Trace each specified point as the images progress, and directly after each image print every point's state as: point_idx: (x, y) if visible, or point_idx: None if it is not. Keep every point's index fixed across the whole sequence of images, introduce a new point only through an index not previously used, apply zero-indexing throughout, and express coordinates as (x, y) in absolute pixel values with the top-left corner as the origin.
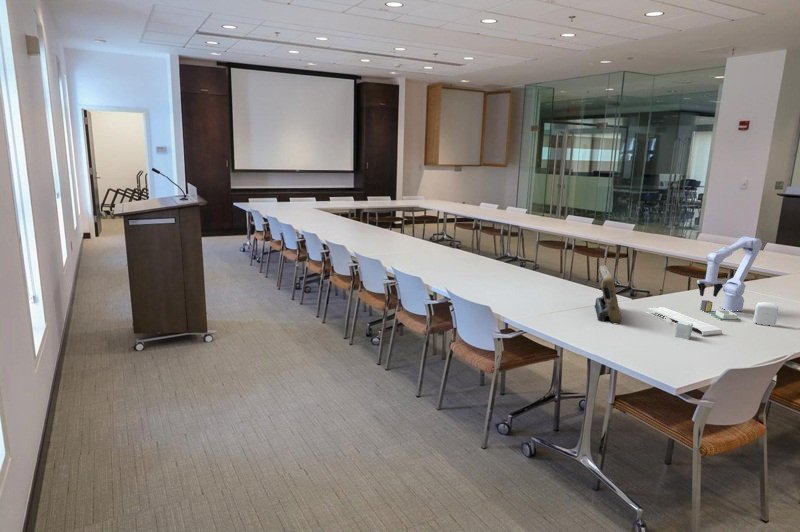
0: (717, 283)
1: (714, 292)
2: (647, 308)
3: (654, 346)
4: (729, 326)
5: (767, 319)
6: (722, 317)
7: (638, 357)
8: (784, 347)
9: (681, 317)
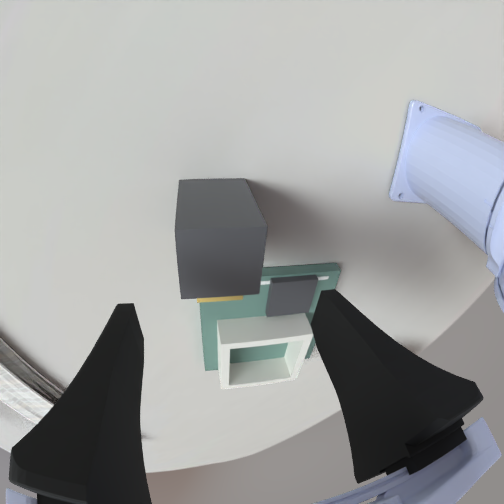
0: (399, 483)
1: (342, 338)
2: None
3: (15, 440)
4: (199, 403)
5: None
6: (218, 368)
7: (10, 447)
8: (251, 449)
9: (24, 402)
